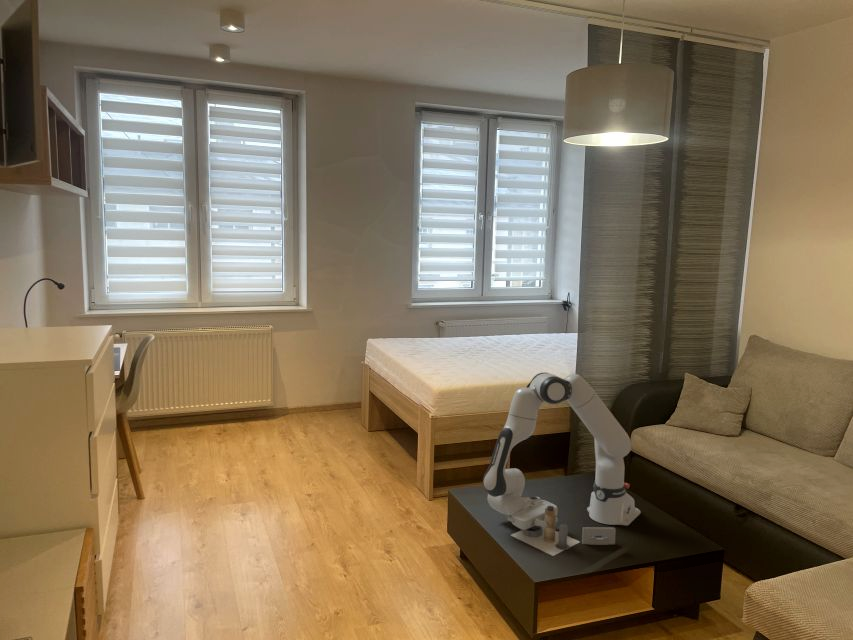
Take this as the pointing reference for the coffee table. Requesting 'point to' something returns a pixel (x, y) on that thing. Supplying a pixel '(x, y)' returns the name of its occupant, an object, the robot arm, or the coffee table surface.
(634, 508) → the robot arm
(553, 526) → the wooden leg
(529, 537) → the plate
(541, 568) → the coffee table surface
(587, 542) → the cassette
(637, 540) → the coffee table surface
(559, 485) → the coffee table surface
